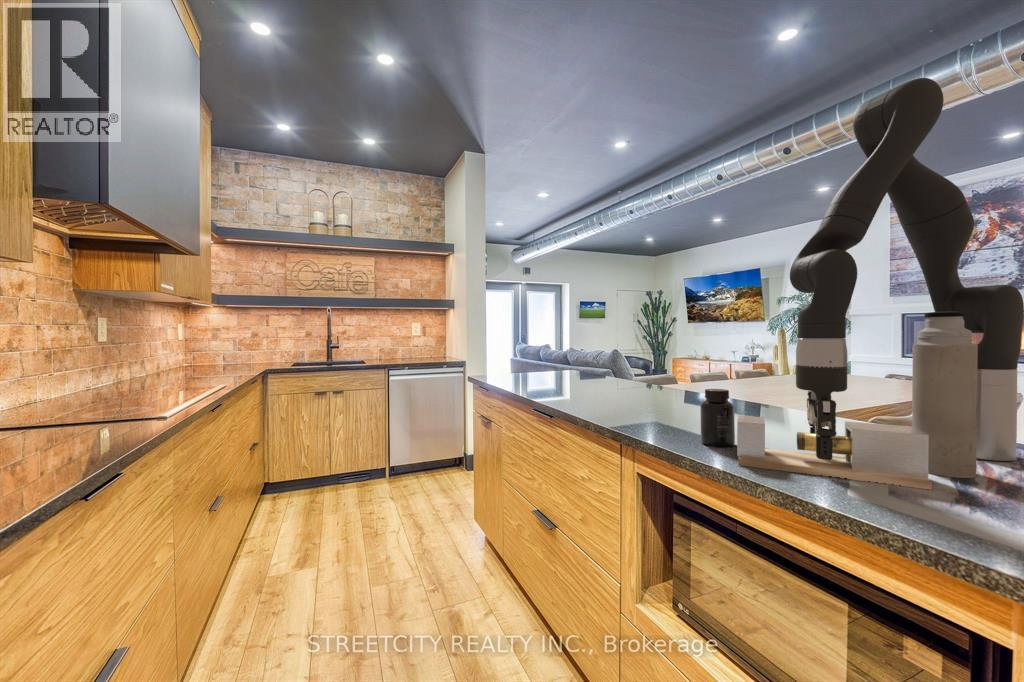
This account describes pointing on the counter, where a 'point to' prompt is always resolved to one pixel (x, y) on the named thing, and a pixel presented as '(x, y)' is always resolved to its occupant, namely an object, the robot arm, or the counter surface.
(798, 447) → the tube
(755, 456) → the sleeve socket
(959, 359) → the thermos bottle
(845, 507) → the counter surface
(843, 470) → the base board
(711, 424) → the supplement bottle
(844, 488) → the counter surface
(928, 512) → the counter surface
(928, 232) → the robot arm
